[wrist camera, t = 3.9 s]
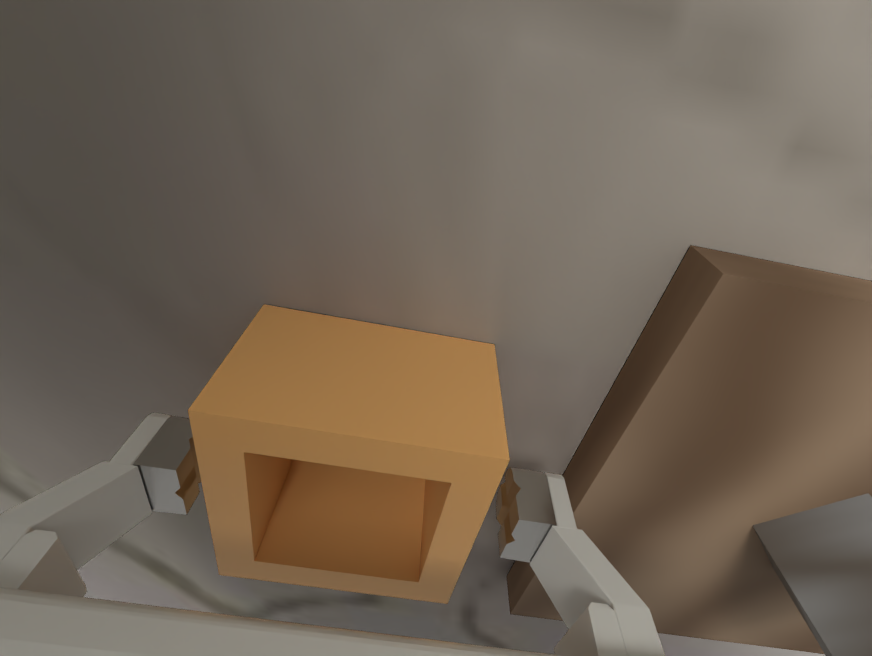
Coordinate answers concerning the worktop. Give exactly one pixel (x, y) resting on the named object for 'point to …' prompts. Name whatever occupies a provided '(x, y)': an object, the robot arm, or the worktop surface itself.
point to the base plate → (737, 461)
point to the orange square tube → (349, 454)
